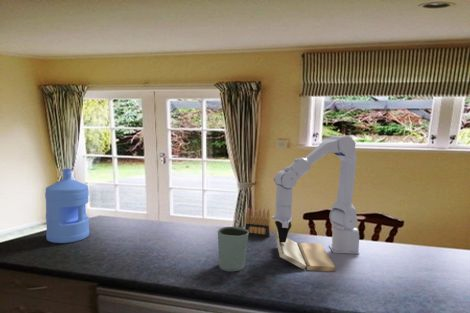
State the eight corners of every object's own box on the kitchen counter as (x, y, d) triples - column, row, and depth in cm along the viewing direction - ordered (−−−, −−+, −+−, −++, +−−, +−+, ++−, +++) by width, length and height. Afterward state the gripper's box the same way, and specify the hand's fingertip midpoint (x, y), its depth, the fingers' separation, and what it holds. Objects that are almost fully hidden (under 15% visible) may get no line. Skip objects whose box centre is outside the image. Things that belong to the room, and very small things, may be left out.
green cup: (213, 262, 114) (213, 228, 113) (240, 258, 118) (240, 225, 117) (223, 274, 105) (224, 237, 104) (252, 269, 109) (253, 233, 108)
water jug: (36, 241, 131) (34, 170, 129) (67, 229, 146) (66, 166, 144) (69, 246, 126) (67, 172, 124) (97, 233, 141) (96, 168, 139)
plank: (294, 246, 131) (297, 242, 131) (304, 269, 109) (306, 265, 109) (274, 235, 131) (276, 231, 131) (279, 256, 109) (282, 252, 109)
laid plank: (320, 247, 131) (320, 243, 131) (334, 271, 109) (335, 266, 109) (297, 246, 131) (297, 242, 131) (307, 270, 109) (307, 265, 109)
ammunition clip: (269, 236, 143) (270, 208, 142) (269, 237, 142) (270, 209, 141) (245, 233, 146) (246, 206, 145) (244, 235, 144) (245, 207, 143)
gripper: (271, 199, 126) (269, 235, 128) (274, 208, 112) (272, 248, 113) (290, 200, 126) (288, 235, 127) (295, 209, 112) (293, 249, 113)
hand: (282, 241), depth 120 cm, fingers closed, pressing on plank
